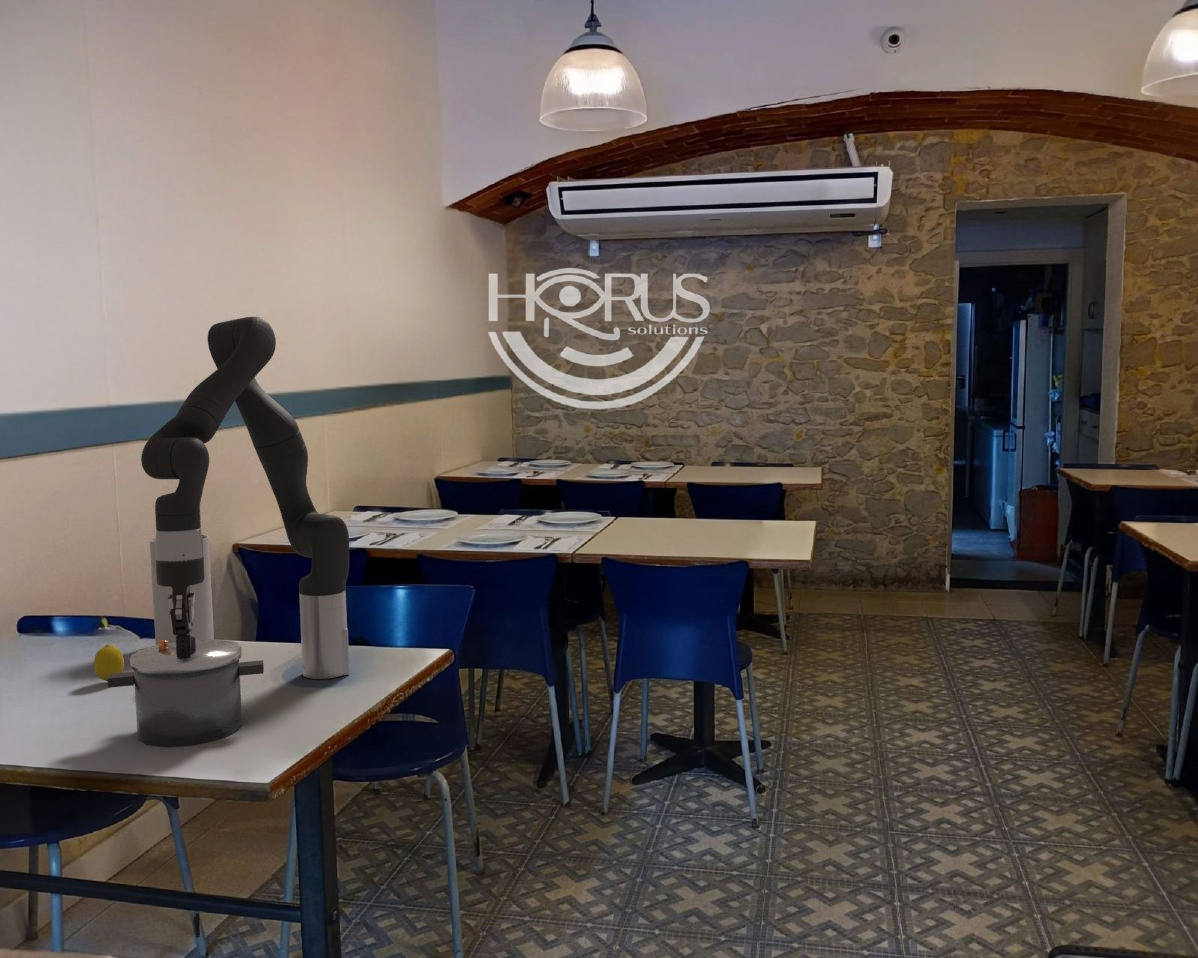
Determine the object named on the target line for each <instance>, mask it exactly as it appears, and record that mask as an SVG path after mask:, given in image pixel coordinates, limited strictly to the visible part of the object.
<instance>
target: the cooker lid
mask: <svg viewBox="0 0 1198 958" xmlns="http://www.w3.org/2000/svg"><path fill="white" fill-rule="evenodd" d="M242 657H243V649H242V645H241V644H240V643H238V642H236V641H232V640H225V639H214V640H195V637H194V636H191V655H190V657H189V658H177V653H176V642H173V643H168V640H160V641H158V645H157V646H156V645H154V646H153V645H152V646H149V647H146V648H143V649H141V650H138V651H136V652H133V654H131V655H130V657H129V667H130V669H131V670H132V671H133V672H134V671H137V672H141V673H147V674H179V673H189V672H197V671H203V670H209V669H213V668H218V667H221V666H225V665H228V664H231V663H233V662H235V661H237V660H239V661H240V660H241V658H242Z"/></svg>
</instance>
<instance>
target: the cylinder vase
mask: <svg viewBox="0 0 1198 958" xmlns="http://www.w3.org/2000/svg"><path fill="white" fill-rule="evenodd" d="M202 538H203V554H204V577H205V579H204V581H203V582H202V583H200V584H196V585H190V593H195V602H194V618H193V620H192V623H193V626H192V631H191V636H194V637H195V640H215V639H214V638H215V633H214V613H213V594H212V575H211V572H212V571H211V556H210V555H211V554H210V536H209V535H206V534H202ZM155 539H156V537H154V538H151V539H149V548H150V549H149V550H150V552H149V553H150V566H151V567H150V569H151V585H152V587H151V588H152V601H153V603H152V605H153V606H152V607H153V621H154V636H155V639H154V640H155V646H157V645H158V641H160V640H168V643H173V642H176V637H175V635H174V634H173V627H172V623H171V617H170V608H169V606H168V597H170V594H172V587H170V586H168V587H164V586H160V585H158V584H157V577H156V554H155Z"/></svg>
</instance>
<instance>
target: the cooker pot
mask: <svg viewBox="0 0 1198 958" xmlns="http://www.w3.org/2000/svg"><path fill="white" fill-rule="evenodd" d="M264 667H265V664H264V660H263V659H262V660H253V661H240V659H239V660H237V661H235V662H233V663H231V664H228V665H225V666H221V667H218V668H213V669H209V670H203V671H197V672H189V673H179V674H147V673H141V672H137V671H134V670H133V671H127V672H122V673H113V674H110V675H109V677H108V682H107V688H108V689H110V688H119V687H132V686H134V695H135V712H136V713H135V714H136V715H135V716H136V729H137V731H136V732H137V739H138V741H140V742H141V743H142V744H145V745H148V746H152V747H153V746H154V747H166V748H167V747H168V748H170V747H171V748H172V747H173V748H178V747H188V746H195V745H201V744H206V743H210V742H214V741H218V740H221V739H225V738H226V737H229V736H231V735H233V734H235V733H236V732H238V730H240V729H241V728H242V726H243V715H242V713H243V712H242V711H243V710H242V694H241V693H242V691H241V688H242V687H241V676H252V675H263V674H264V670H265V669H264Z"/></svg>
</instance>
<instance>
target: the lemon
mask: <svg viewBox="0 0 1198 958" xmlns="http://www.w3.org/2000/svg"><path fill="white" fill-rule="evenodd" d="M93 667H94V672H95V674H96V676H97V677H98V678H99V679H101V680H103V681H106V682H107V683H108V677H109V675H110V674H113V673H124V669H125V659H124V655H123V653H122V651H121V650H120V648H118V647H117V646H114V645H111V644H110V643H108V644H106V645H104V646H103V647H101V648H99V650H97V652H96V654H95V656H94V659H93Z"/></svg>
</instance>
